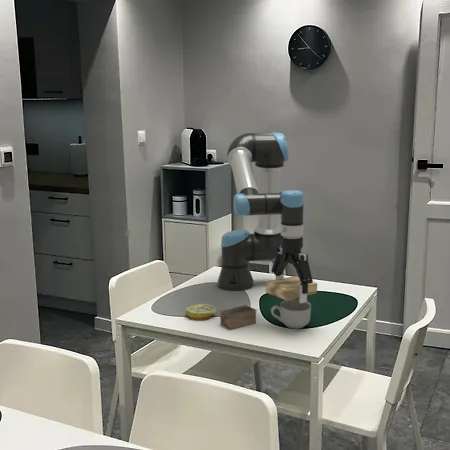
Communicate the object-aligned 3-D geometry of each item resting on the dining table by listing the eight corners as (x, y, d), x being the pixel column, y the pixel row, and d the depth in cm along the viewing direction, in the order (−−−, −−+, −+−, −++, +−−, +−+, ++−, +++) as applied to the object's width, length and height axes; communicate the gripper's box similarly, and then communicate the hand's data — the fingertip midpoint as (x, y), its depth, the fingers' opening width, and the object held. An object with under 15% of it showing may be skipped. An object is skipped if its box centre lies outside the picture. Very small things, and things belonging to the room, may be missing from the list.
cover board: (265, 292, 211) (265, 281, 211) (294, 285, 219) (295, 275, 218) (286, 300, 202) (287, 289, 201) (317, 293, 210) (317, 282, 209)
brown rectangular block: (219, 324, 214) (219, 311, 213) (245, 318, 221) (245, 304, 220) (230, 330, 209) (230, 316, 208) (256, 323, 215) (256, 309, 214)
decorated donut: (221, 317, 223) (221, 307, 222) (196, 323, 216) (196, 313, 216) (205, 309, 231) (205, 299, 230) (181, 315, 225) (181, 305, 224)
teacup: (310, 320, 218) (310, 299, 216) (311, 331, 207) (311, 309, 205) (271, 319, 219) (271, 298, 217) (270, 330, 208) (270, 308, 207)
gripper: (261, 232, 214) (261, 291, 218) (307, 244, 195) (306, 309, 199) (278, 229, 218) (277, 287, 223) (324, 241, 199) (323, 304, 203)
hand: (291, 297), depth 211 cm, fingers closed on cover board, 11 cm apart
